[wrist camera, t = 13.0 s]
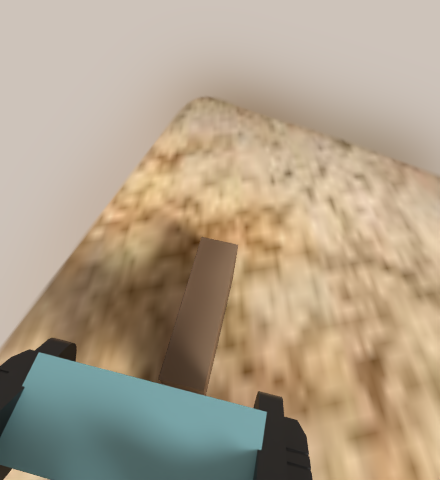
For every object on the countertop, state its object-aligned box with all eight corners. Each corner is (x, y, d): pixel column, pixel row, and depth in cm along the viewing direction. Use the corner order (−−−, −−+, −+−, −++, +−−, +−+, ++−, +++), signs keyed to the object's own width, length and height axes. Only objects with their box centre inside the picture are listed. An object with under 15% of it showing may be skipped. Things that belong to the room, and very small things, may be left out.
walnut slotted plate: (232, 278, 24) (238, 244, 19) (132, 709, 14) (98, 836, 10) (202, 272, 24) (201, 236, 20) (83, 692, 14) (27, 808, 10)
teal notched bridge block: (238, 421, 15) (266, 411, 8) (226, 485, 14) (248, 538, 7) (112, 388, 16) (38, 352, 9) (91, 447, 14) (-15, 460, 7)
